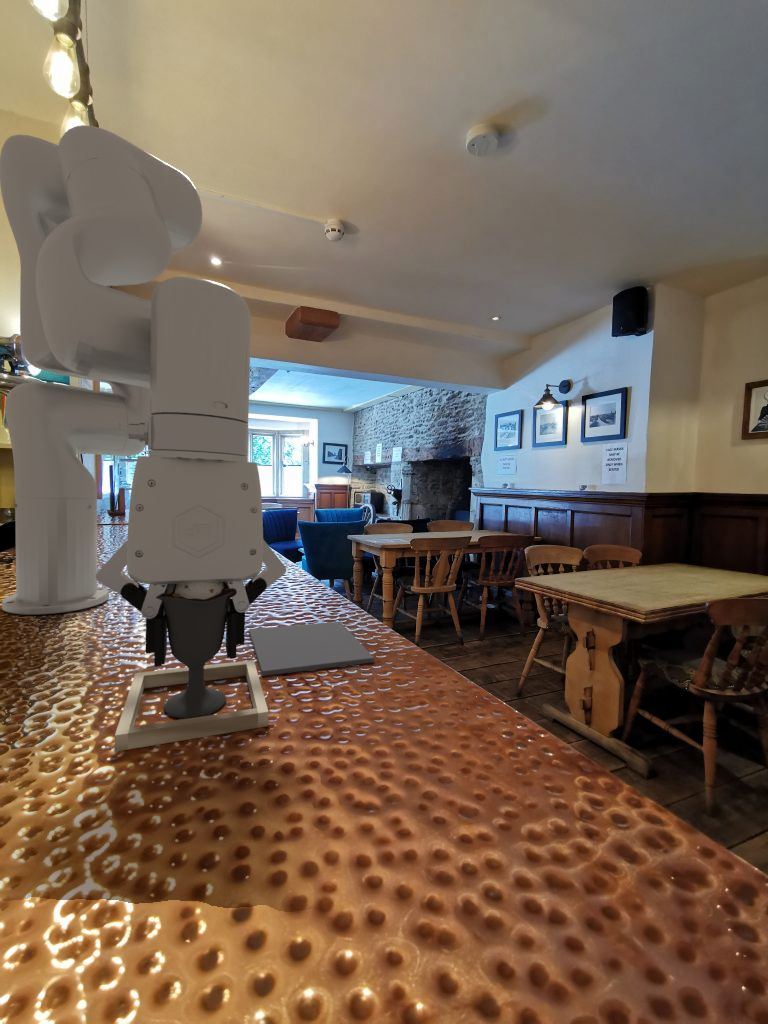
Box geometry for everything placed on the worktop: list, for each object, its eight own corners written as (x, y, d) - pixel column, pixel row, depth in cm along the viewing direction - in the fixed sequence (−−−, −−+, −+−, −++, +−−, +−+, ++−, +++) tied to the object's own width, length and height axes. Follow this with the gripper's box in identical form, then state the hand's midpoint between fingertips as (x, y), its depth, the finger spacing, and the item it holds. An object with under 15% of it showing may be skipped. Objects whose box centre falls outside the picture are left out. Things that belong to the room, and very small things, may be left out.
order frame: (135, 685, 41) (135, 673, 41) (253, 671, 45) (253, 660, 45) (114, 751, 31) (114, 735, 31) (268, 726, 35) (268, 711, 35)
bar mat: (249, 632, 56) (249, 629, 56) (339, 625, 61) (339, 621, 61) (262, 676, 44) (262, 671, 44) (373, 662, 49) (374, 657, 49)
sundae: (208, 730, 34) (212, 539, 33) (133, 717, 36) (135, 533, 35) (250, 691, 41) (255, 530, 40) (186, 682, 42) (188, 525, 41)
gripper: (64, 430, 30) (65, 690, 31) (311, 448, 36) (304, 662, 38) (90, 438, 37) (90, 650, 38) (294, 452, 43) (288, 633, 45)
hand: (196, 654), depth 38 cm, fingers closed on sundae, 4 cm apart
